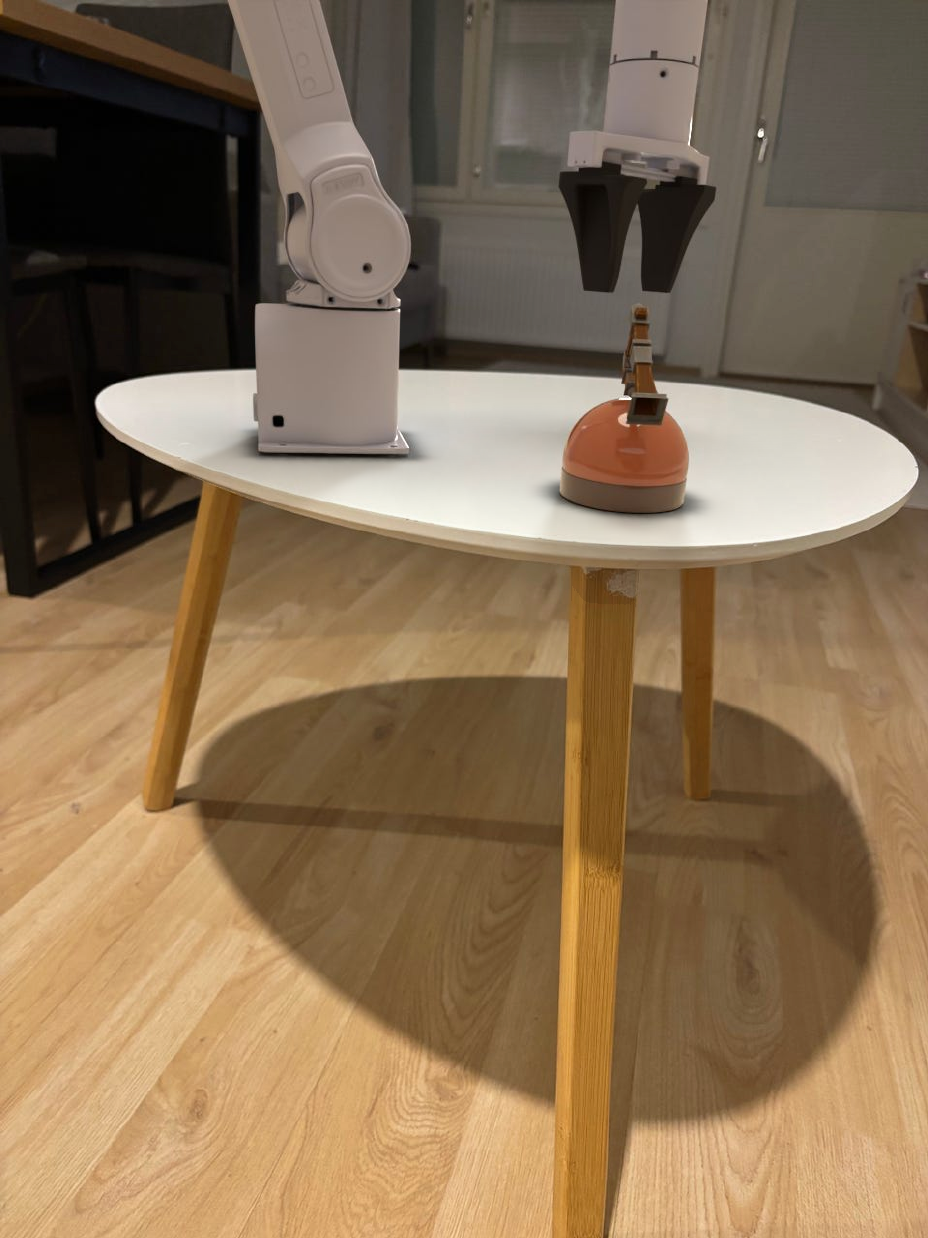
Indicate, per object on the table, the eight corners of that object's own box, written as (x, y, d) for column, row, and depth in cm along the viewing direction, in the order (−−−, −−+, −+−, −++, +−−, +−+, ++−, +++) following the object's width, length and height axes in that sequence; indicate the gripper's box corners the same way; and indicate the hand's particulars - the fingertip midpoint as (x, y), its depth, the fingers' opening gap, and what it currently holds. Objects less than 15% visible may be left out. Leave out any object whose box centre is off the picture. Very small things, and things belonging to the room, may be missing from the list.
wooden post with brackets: (641, 360, 53) (657, 293, 49) (651, 460, 48) (669, 395, 44) (610, 358, 53) (623, 291, 49) (617, 459, 48) (632, 393, 44)
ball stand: (576, 540, 49) (590, 407, 46) (543, 505, 55) (553, 387, 52) (699, 540, 50) (719, 411, 47) (653, 505, 56) (668, 390, 54)
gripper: (656, 90, 66) (634, 288, 71) (536, 52, 56) (519, 287, 61) (747, 83, 62) (716, 294, 67) (634, 41, 52) (608, 294, 57)
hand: (628, 291), depth 64 cm, fingers open, 7 cm apart
